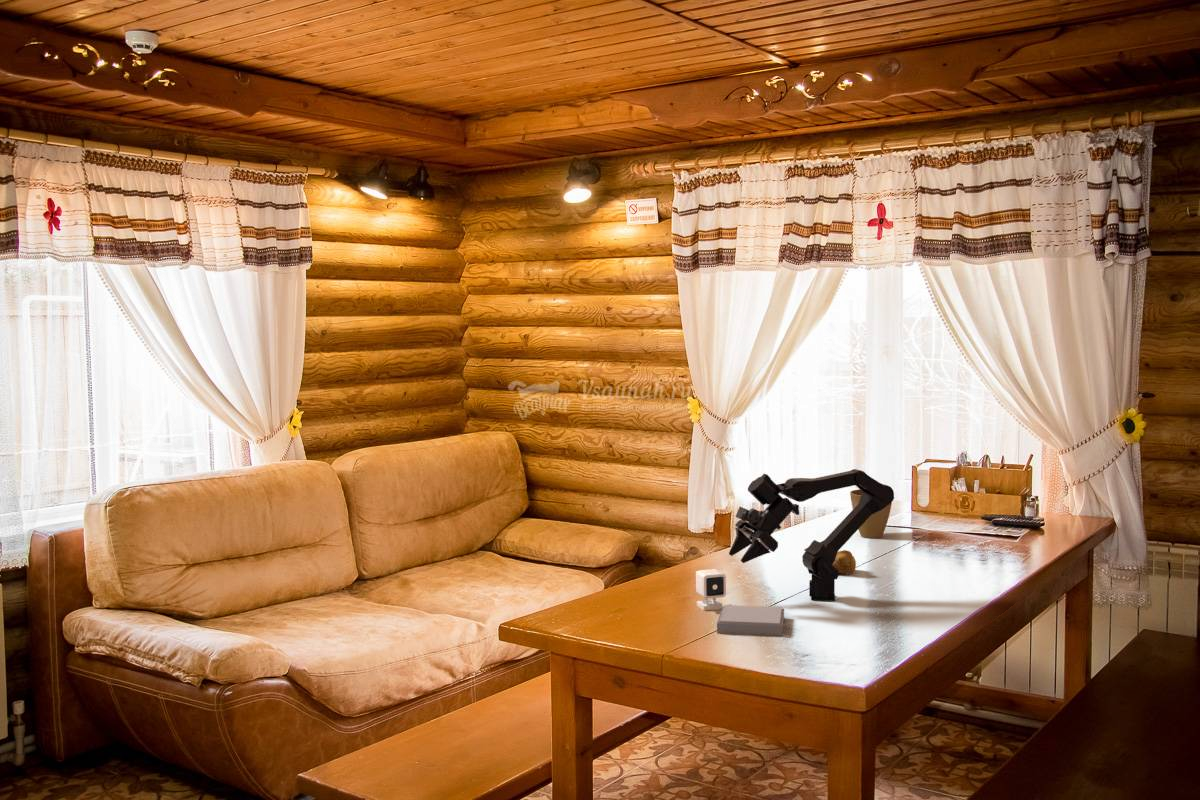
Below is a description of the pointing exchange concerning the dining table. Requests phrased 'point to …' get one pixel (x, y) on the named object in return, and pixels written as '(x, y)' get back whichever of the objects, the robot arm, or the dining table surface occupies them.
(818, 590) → the robot arm
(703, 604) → the security camera
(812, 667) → the dining table surface
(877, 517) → the plant pot
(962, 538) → the dining table surface
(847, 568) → the bread roll
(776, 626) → the grey square slab
